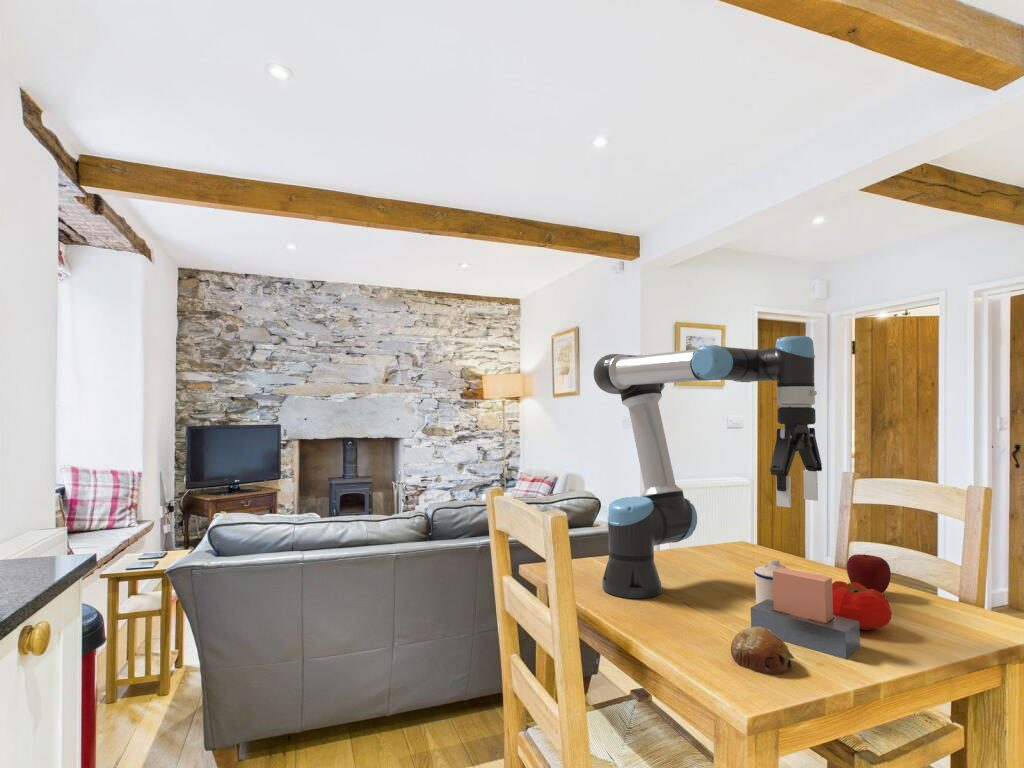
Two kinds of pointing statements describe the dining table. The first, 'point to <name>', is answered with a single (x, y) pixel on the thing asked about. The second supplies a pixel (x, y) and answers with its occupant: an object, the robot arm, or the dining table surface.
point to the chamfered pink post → (803, 595)
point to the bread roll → (761, 651)
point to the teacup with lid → (766, 580)
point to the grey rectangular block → (809, 630)
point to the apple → (869, 571)
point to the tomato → (860, 605)
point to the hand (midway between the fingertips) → (797, 503)
